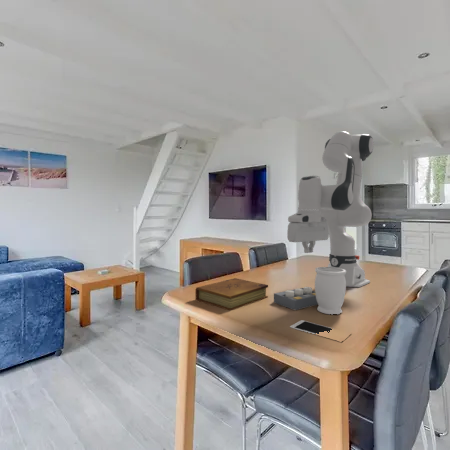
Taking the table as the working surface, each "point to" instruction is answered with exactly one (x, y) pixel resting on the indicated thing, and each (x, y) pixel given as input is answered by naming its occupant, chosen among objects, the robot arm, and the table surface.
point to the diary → (231, 293)
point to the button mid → (299, 292)
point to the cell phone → (310, 327)
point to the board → (296, 300)
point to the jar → (330, 289)
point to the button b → (308, 290)
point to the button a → (289, 294)
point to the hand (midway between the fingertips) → (308, 252)
